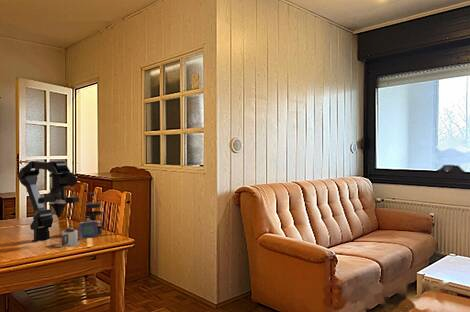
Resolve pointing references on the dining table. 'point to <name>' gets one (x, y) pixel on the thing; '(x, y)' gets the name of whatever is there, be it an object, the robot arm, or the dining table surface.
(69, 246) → the coaster
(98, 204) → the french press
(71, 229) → the plunger
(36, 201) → the robot arm
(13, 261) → the dining table surface
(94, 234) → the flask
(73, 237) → the grey boxy piece
